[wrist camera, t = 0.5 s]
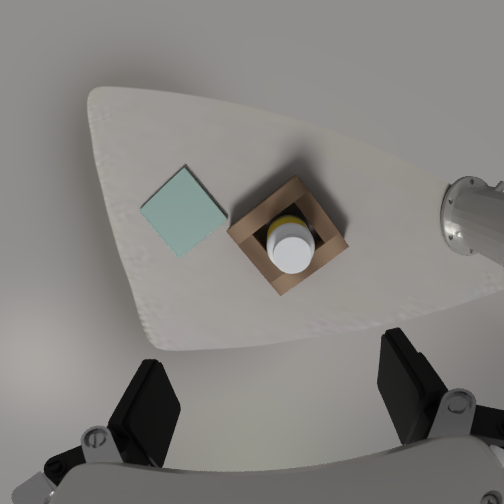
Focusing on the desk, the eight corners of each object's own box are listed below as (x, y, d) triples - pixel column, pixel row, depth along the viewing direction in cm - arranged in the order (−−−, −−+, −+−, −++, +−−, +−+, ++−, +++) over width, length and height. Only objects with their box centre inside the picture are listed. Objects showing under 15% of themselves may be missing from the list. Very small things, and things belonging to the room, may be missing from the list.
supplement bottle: (259, 228, 38) (255, 248, 29) (292, 205, 37) (300, 217, 28) (282, 260, 39) (285, 289, 30) (315, 238, 38) (329, 261, 29)
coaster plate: (185, 167, 36) (184, 167, 36) (227, 218, 38) (227, 219, 38) (140, 210, 38) (139, 210, 38) (180, 258, 40) (179, 259, 40)
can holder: (295, 175, 36) (297, 175, 33) (343, 240, 38) (349, 246, 35) (229, 226, 38) (226, 231, 35) (279, 287, 40) (280, 296, 37)
